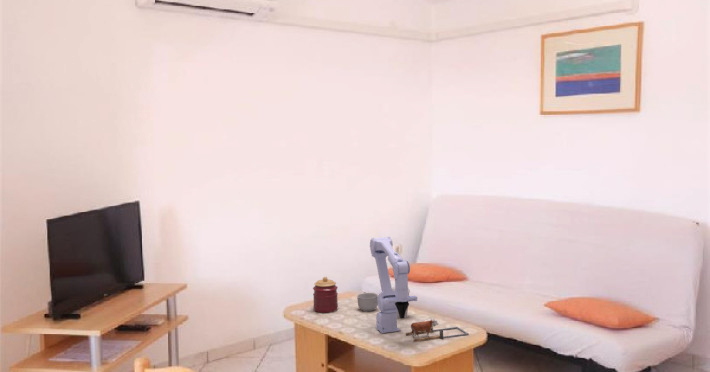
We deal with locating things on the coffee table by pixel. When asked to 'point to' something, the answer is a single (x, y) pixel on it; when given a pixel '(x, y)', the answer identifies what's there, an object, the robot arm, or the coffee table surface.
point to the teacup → (367, 301)
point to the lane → (453, 335)
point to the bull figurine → (423, 327)
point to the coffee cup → (407, 308)
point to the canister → (325, 296)
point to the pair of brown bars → (427, 337)
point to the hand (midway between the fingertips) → (401, 318)
